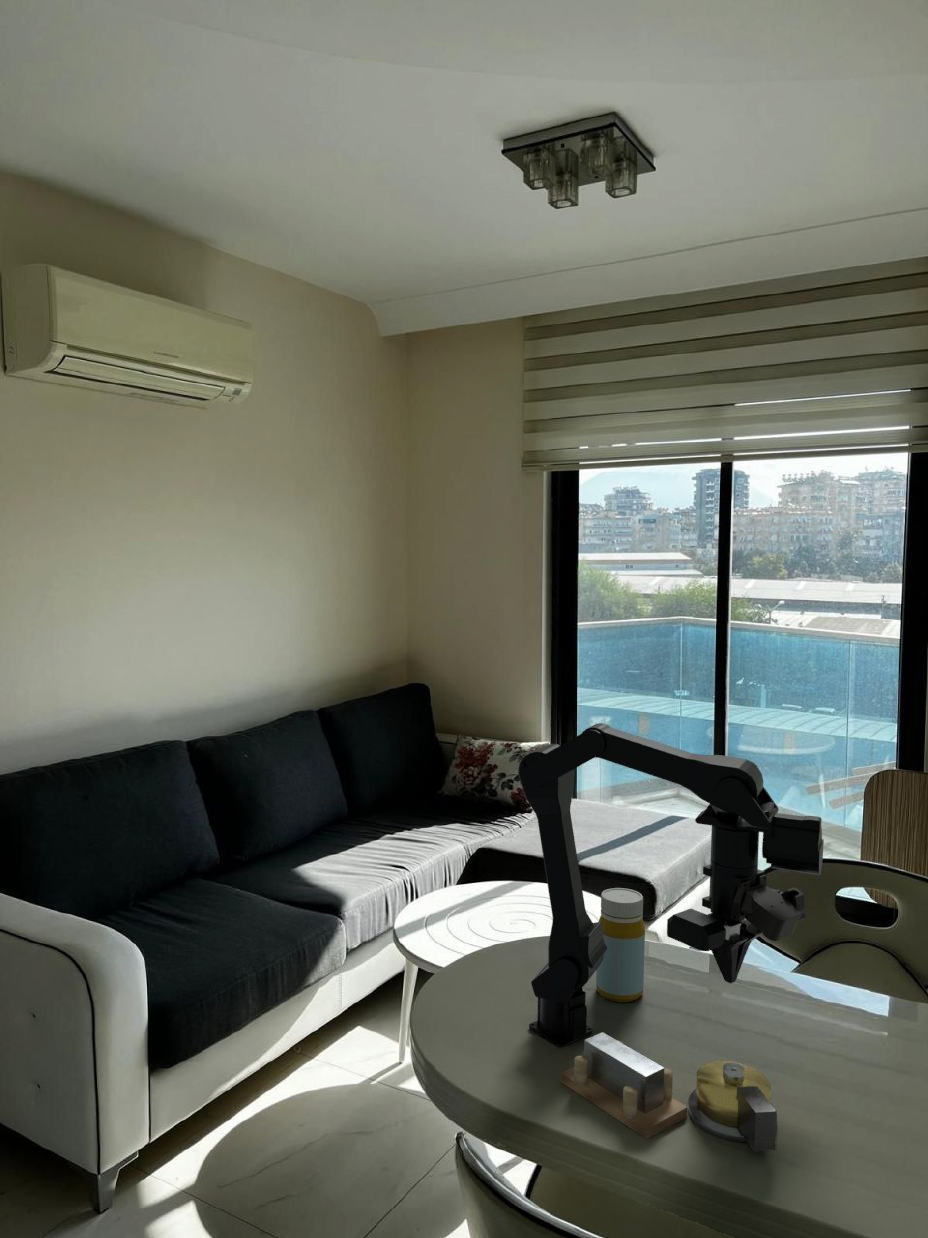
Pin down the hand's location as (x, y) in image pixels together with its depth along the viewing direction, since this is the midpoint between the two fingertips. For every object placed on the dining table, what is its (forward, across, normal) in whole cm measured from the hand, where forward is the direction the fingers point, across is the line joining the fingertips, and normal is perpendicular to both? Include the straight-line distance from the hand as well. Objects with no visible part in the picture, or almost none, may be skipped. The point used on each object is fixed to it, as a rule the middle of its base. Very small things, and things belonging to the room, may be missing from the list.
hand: (729, 981), depth 118 cm
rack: (+12, -15, +4) cm, 20 cm away
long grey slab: (+11, -15, +4) cm, 19 cm away
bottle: (+12, +5, +23) cm, 27 cm away
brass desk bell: (+12, -7, -6) cm, 15 cm away
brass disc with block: (+11, -8, -8) cm, 16 cm away
